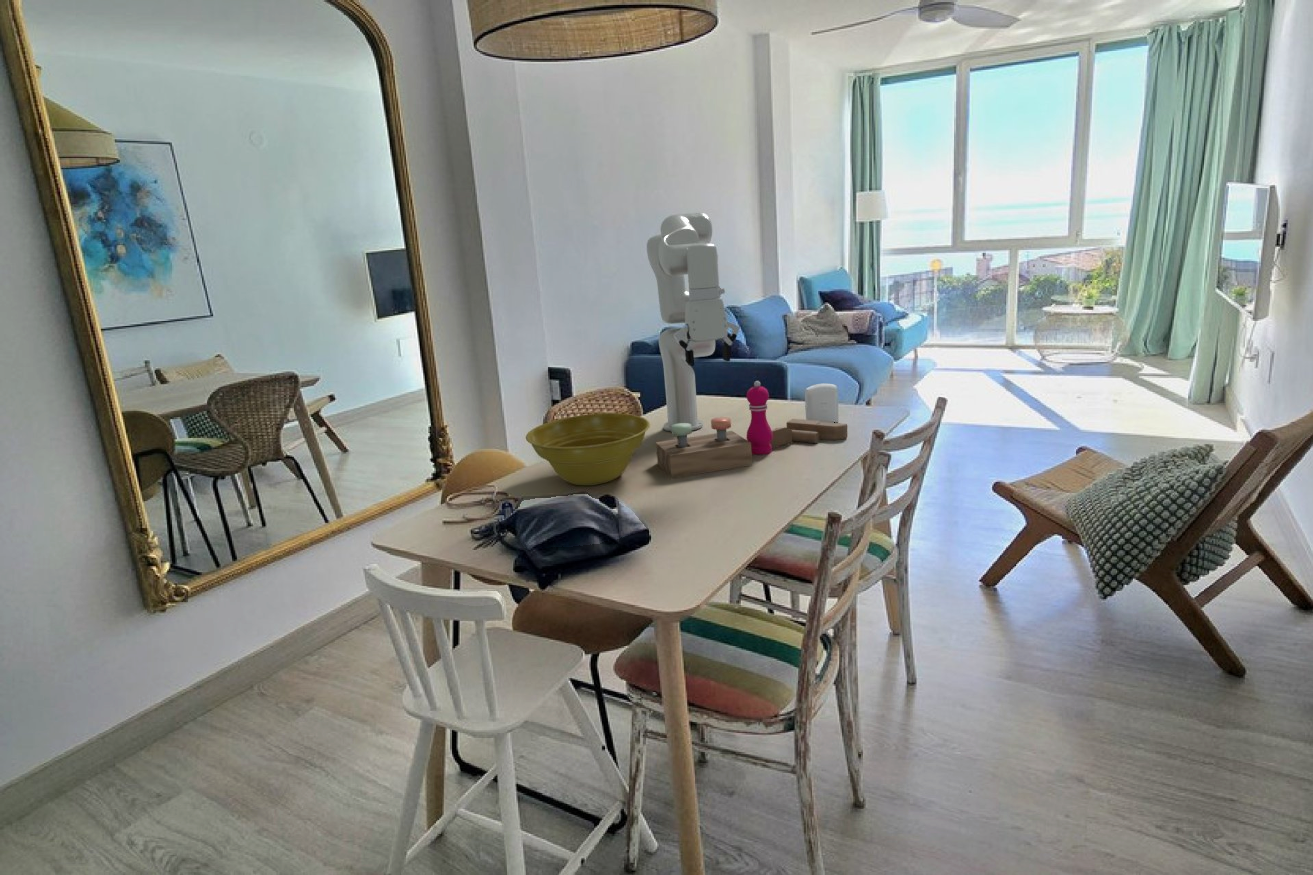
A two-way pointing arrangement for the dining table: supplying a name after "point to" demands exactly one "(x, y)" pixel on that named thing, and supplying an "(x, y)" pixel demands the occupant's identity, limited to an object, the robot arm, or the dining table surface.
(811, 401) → the photo printer
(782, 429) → the wooden block set
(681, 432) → the green button
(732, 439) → the button panel
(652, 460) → the dining table surface
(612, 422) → the planter bowl
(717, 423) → the red button
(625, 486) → the dining table surface
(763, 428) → the pepper mill
